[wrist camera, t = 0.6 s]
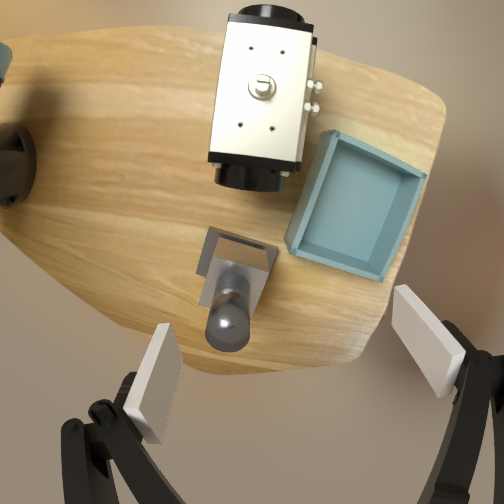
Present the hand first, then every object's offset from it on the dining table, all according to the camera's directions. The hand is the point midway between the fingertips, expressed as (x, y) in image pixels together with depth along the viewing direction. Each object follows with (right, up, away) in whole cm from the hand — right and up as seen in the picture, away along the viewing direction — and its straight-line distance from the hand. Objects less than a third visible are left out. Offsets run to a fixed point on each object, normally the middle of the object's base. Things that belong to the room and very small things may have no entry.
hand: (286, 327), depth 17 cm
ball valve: (-1, +23, +20) cm, 31 cm away
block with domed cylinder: (-4, +2, +25) cm, 25 cm away
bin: (+12, +11, +24) cm, 29 cm away
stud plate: (-4, +3, +27) cm, 28 cm away
